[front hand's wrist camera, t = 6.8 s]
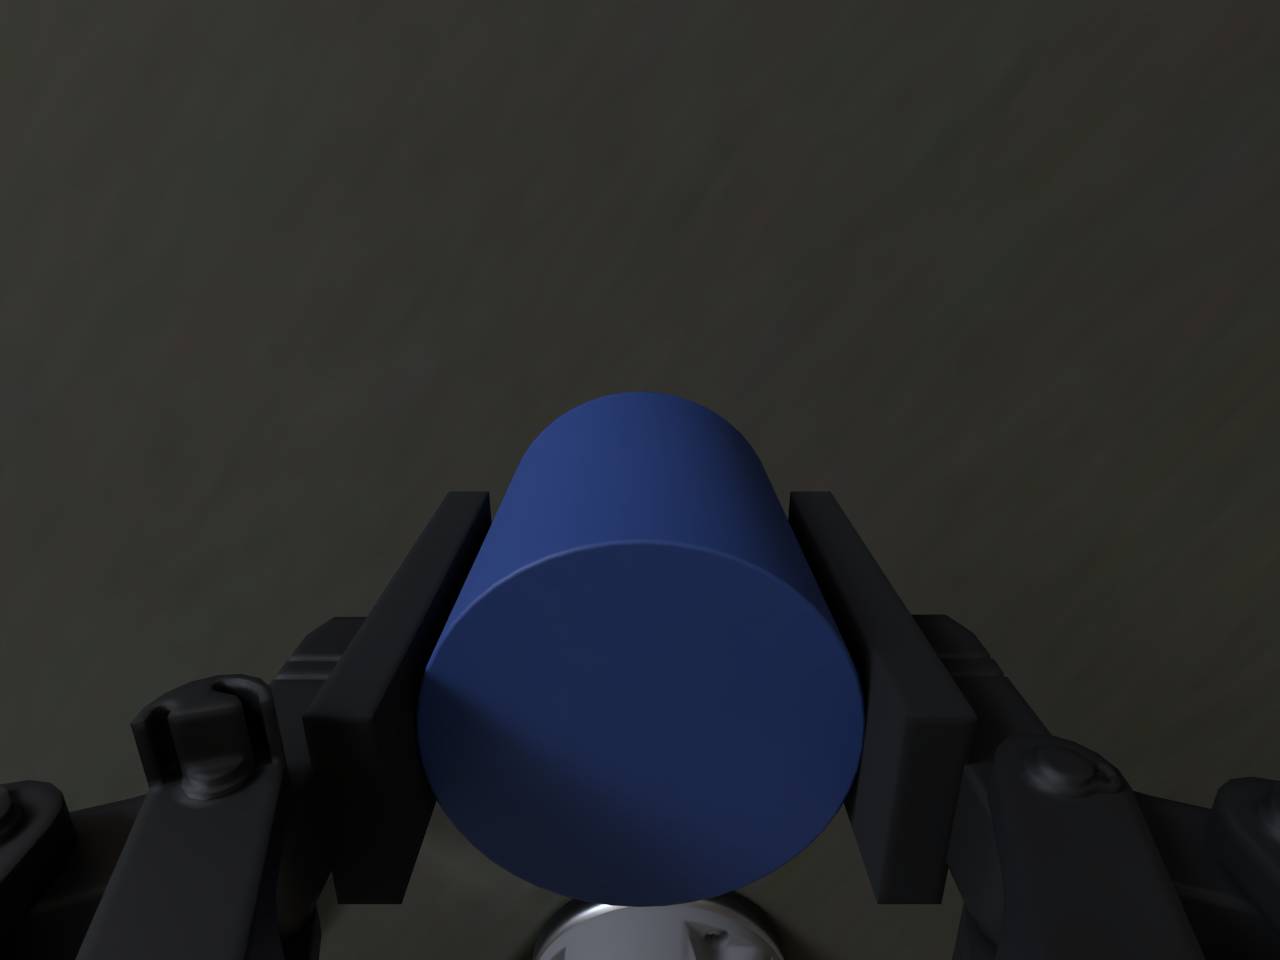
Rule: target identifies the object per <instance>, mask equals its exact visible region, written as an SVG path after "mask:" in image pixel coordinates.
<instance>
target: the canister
mask: <svg viewBox="0 0 1280 960" xmlns="http://www.w3.org/2000/svg"><path fill="white" fill-rule="evenodd" d="M865 726H866V714H865V703H864V694H863V691H862V687H861V683H860V679H859V675H858V672H857V669H856V667H855V665H854V662H853V660H852V658H851V656H850V653H849V651H848V649H847V647H846V644H845V642H844V640H843V638H842V636H841V634H840V632H839V629H838V627H837V625H836V623H835V621H834V619H833V616H832V614H831V612H830V610H829V608H828V606H827V603H826V601H825V599H824V597H823V595H822V593H821V591H820V588H819V586H818V584H817V582H816V580H815V578H814V575H813V573H812V571H811V569H810V567H809V565H808V562H807V560H806V558H805V556H804V554H803V552H802V550H801V547H800V545H799V543H798V541H797V539H796V537H795V534H794V532H793V530H792V528H791V526H790V524H789V521H788V519H787V517H786V515H785V513H784V511H783V508H782V506H781V504H780V502H779V500H778V498H777V496H776V493H775V491H774V489H773V487H772V485H771V483H770V480H769V478H768V476H767V474H766V472H765V470H764V467H763V465H762V463H761V461H760V459H759V458H758V456H757V454H756V453H755V451H754V450H753V448H752V446H751V445H750V444H749V443H748V442H747V440H746V439H745V438H744V437H743V436H742V434H741V433H740V432H739V431H738V430H737V429H735V428H734V427H733V426H732V425H731V424H730V423H729V422H728V421H726V420H725V419H723V418H722V417H720V416H719V415H718V414H716V413H715V412H713V411H711V410H709V409H707V408H705V407H703V406H701V405H699V404H697V403H695V402H692V401H689V400H686V399H684V398H681V397H677V396H672V395H667V394H663V393H653V392H627V393H619V394H614V395H608V396H604V397H601V398H598V399H595V400H592V401H588V402H586V403H584V404H582V405H580V406H578V407H576V408H574V409H571V410H570V411H568V412H567V413H565V414H564V415H562V416H561V417H559V418H558V419H556V420H555V421H554V422H553V423H551V424H550V425H549V426H548V427H547V428H546V429H544V430H543V431H542V433H541V434H540V435H539V436H538V437H537V438H536V439H535V440H534V442H533V443H532V444H531V445H530V447H529V448H528V450H527V452H526V453H525V455H524V456H523V458H522V460H521V462H520V464H519V466H518V468H517V470H516V472H515V474H514V477H513V479H512V481H511V483H510V485H509V487H508V490H507V492H506V494H505V496H504V498H503V501H502V503H501V505H500V507H499V509H498V511H497V514H496V516H495V518H494V520H493V522H492V525H491V527H490V529H489V531H488V533H487V535H486V538H485V540H484V542H483V544H482V546H481V549H480V551H479V553H478V555H477V557H476V559H475V562H474V564H473V566H472V568H471V570H470V573H469V575H468V577H467V579H466V581H465V583H464V586H463V588H462V590H461V592H460V594H459V596H458V599H457V601H456V603H455V605H454V607H453V610H452V612H451V614H450V616H449V618H448V620H447V623H446V625H445V627H444V629H443V631H442V634H441V636H440V638H439V640H438V642H437V644H436V647H435V649H434V651H433V653H432V655H431V658H430V660H429V662H428V664H427V666H426V669H425V673H424V676H423V679H422V683H421V686H420V690H419V696H418V704H417V712H416V727H417V742H418V747H419V752H420V757H421V762H422V766H423V769H424V772H425V774H426V777H427V780H428V783H429V785H430V788H431V790H432V792H433V793H434V795H435V797H436V799H437V801H438V803H439V805H440V806H441V808H442V810H443V811H444V812H445V814H446V815H447V816H448V818H449V819H450V820H451V822H452V823H453V825H454V826H455V827H456V828H457V830H458V831H459V832H460V833H461V834H462V835H463V836H464V837H465V838H466V839H467V840H468V841H469V842H470V843H471V844H472V845H473V846H474V847H475V848H477V849H478V850H479V851H480V852H481V853H483V854H484V855H485V856H486V857H488V858H489V859H490V860H491V861H493V862H494V863H496V864H497V865H499V866H500V867H502V868H504V869H505V870H507V871H508V872H510V873H511V874H513V875H515V876H517V877H519V878H521V879H523V880H525V881H527V882H529V883H531V884H533V885H535V886H537V887H540V888H543V889H546V890H548V891H551V892H554V893H557V894H559V895H562V896H566V897H570V898H574V899H578V900H582V901H586V902H592V903H599V904H605V905H612V906H628V907H653V906H669V905H676V904H684V903H691V902H695V901H699V900H704V899H708V898H712V897H716V896H719V895H722V894H725V893H728V892H731V891H734V890H736V889H739V888H742V887H744V886H746V885H748V884H750V883H753V882H755V881H757V880H759V879H761V878H763V877H765V876H767V875H768V874H770V873H772V872H773V871H775V870H777V869H778V868H780V867H782V866H783V865H785V864H786V863H788V862H789V861H790V860H792V859H793V858H794V857H795V856H797V855H798V854H799V853H800V852H802V851H803V850H804V849H806V848H807V847H808V846H809V845H810V844H811V843H812V842H813V841H814V840H815V839H816V838H817V837H818V836H819V835H820V834H821V833H822V832H823V831H824V829H825V828H826V827H827V825H828V824H829V823H830V822H831V820H832V819H833V818H834V816H835V815H836V814H837V813H838V811H839V809H840V808H841V806H842V804H843V802H844V801H845V799H846V797H847V795H848V794H849V792H850V790H851V787H852V785H853V782H854V780H855V777H856V775H857V772H858V769H859V766H860V761H861V757H862V752H863V747H864V739H865Z"/></svg>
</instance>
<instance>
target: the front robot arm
mask: <svg viewBox="0 0 1280 960" xmlns="http://www.w3.org/2000/svg"><path fill="white" fill-rule="evenodd" d="M788 521H789V524H790V526H791V528H792V530H793V532H794V534H795V537H796V539H797V541H798V543H799V545H800V547H801V550H802V552H803V554H804V556H805V558H806V560H807V562H808V565H809V567H810V569H811V571H812V573H813V575H814V578H815V580H816V582H817V584H818V586H819V588H820V591H821V593H822V595H823V597H824V599H825V601H826V603H827V606H828V608H829V610H830V612H831V614H832V616H833V619H834V621H835V623H836V625H837V627H838V629H839V632H840V634H841V636H842V638H843V640H844V642H845V644H846V647H847V649H848V651H849V653H850V656H851V658H852V660H853V662H854V665H855V667H856V669H857V672H858V675H859V679H860V683H861V687H862V691H863V694H864V703H865V714H866V726H865V739H864V747H863V752H862V757H861V761H860V766H859V769H858V772H857V775H856V777H855V780H854V782H853V785H852V787H851V790H850V792H849V794H848V795H847V797H846V799H845V801H844V805H845V808H846V811H847V814H848V817H849V820H850V823H851V826H852V828H853V831H854V834H855V837H856V840H857V843H858V846H859V849H860V852H861V855H862V858H863V861H864V864H865V867H866V870H867V873H868V876H869V879H870V882H871V885H872V888H873V891H874V894H875V897H876V899H877V902H878V904H941V902H942V897H943V892H944V887H945V882H946V877H947V872H948V867H949V870H950V872H951V874H952V876H953V878H954V880H955V883H956V885H957V887H958V889H959V891H960V893H961V896H962V898H963V900H964V905H963V910H962V914H961V919H960V924H959V929H958V933H957V938H956V943H955V948H954V953H953V957H952V960H1280V781H1276V780H1269V779H1263V778H1256V777H1246V778H1237V779H1230V780H1229V781H1228V782H1226V783H1225V784H1224V785H1222V786H1221V787H1220V788H1219V789H1218V792H1217V795H1216V797H1215V800H1214V803H1213V806H1212V809H1208V808H1204V807H1199V806H1195V805H1190V804H1186V803H1181V802H1177V801H1172V800H1168V799H1163V798H1159V797H1154V796H1150V795H1146V794H1143V793H1139V792H1136V791H1132V789H1131V787H1130V785H1129V784H1128V782H1127V781H1126V780H1125V778H1124V777H1123V775H1122V774H1121V773H1120V771H1119V770H1118V769H1117V768H1116V767H1114V766H1113V765H1112V764H1111V763H1109V762H1108V761H1107V760H1106V759H1104V758H1103V757H1102V756H1100V755H1099V754H1098V753H1096V752H1094V751H1092V750H1090V749H1088V748H1086V747H1084V746H1082V745H1080V744H1078V743H1076V742H1073V741H1070V740H1066V739H1063V738H1059V737H1055V736H1052V735H1051V733H1050V732H1049V731H1048V730H1047V728H1046V727H1045V726H1044V724H1043V723H1042V722H1041V720H1040V719H1039V718H1038V717H1037V715H1036V714H1035V713H1034V711H1033V710H1032V709H1031V707H1030V706H1029V705H1028V704H1027V702H1026V701H1025V700H1024V698H1023V697H1022V696H1021V694H1020V693H1019V692H1018V691H1017V689H1016V688H1015V687H1014V685H1013V684H1012V683H1011V681H1010V680H1009V679H1008V678H1007V677H1004V675H1003V673H1004V672H1003V671H1002V670H1001V668H1000V667H999V666H998V665H997V663H996V662H995V661H994V659H990V654H989V653H988V652H987V650H986V649H985V648H984V646H983V645H982V644H981V643H980V641H979V640H978V639H977V637H976V636H975V635H974V633H972V632H971V631H969V630H968V629H966V628H965V627H963V626H962V625H960V624H959V623H957V622H956V621H954V620H953V619H951V618H950V617H948V616H947V615H911V614H910V613H909V611H908V610H907V608H906V607H905V605H904V604H903V602H902V600H901V599H900V597H899V596H898V594H897V593H896V591H895V590H894V588H893V587H892V585H891V584H890V582H889V581H888V579H887V578H886V576H885V574H884V573H883V571H882V570H881V568H880V567H879V565H878V564H877V562H876V561H875V559H874V558H873V556H872V555H871V553H870V552H869V550H868V548H867V547H866V545H865V544H864V542H863V541H862V539H861V538H860V536H859V535H858V533H857V532H856V530H855V529H854V527H853V526H852V524H851V522H850V521H849V519H848V518H847V516H846V515H845V513H844V512H843V510H842V509H841V507H840V506H839V504H838V503H837V501H836V500H835V498H834V496H833V495H832V493H831V492H790V505H789V518H788ZM491 525H492V524H491V511H490V498H489V492H449V493H448V494H447V496H446V497H445V499H444V500H443V502H442V503H441V505H440V506H439V508H438V509H437V511H436V512H435V514H434V516H433V517H432V519H431V520H430V522H429V523H428V525H427V526H426V528H425V529H424V531H423V532H422V534H421V535H420V537H419V538H418V540H417V542H416V543H415V545H414V546H413V548H412V549H411V551H410V552H409V554H408V555H407V557H406V558H405V560H404V561H403V563H402V564H401V566H400V568H399V569H398V571H397V572H396V574H395V575H394V577H393V578H392V580H391V581H390V583H389V584H388V586H387V587H386V589H385V590H384V592H383V594H382V595H381V597H380V598H379V600H378V601H377V603H376V604H375V606H374V607H373V609H372V610H371V612H370V613H369V615H368V616H367V617H334V618H332V619H331V620H329V621H328V622H326V623H325V624H323V625H322V626H320V627H319V628H317V629H316V630H314V631H313V632H311V633H310V634H308V635H307V636H306V637H305V638H304V640H303V641H302V642H301V644H300V645H299V646H298V647H297V649H296V650H295V651H294V653H293V654H292V655H291V657H290V661H287V662H286V663H285V664H284V666H283V667H282V668H281V670H280V671H279V672H278V674H277V675H276V680H272V681H271V683H270V684H269V685H267V684H266V683H265V682H264V681H263V680H261V679H260V678H256V677H252V676H247V675H243V674H235V675H217V676H213V677H209V678H205V679H201V680H197V681H193V682H190V683H187V684H185V685H183V686H180V687H178V688H176V689H174V690H171V691H169V692H167V693H165V694H163V695H162V696H160V697H159V698H157V699H156V700H154V701H153V702H152V703H150V704H149V705H147V706H146V707H144V708H143V709H142V711H141V712H140V713H139V714H138V715H137V717H136V718H135V719H134V720H133V721H132V723H131V727H132V731H133V734H134V738H135V741H136V744H137V748H138V751H139V754H140V758H141V761H142V765H143V768H144V771H145V775H146V778H147V781H148V785H149V790H148V792H147V794H145V795H142V796H138V797H135V798H131V799H127V800H122V801H118V802H113V803H109V804H104V805H100V806H95V807H91V808H87V809H82V810H78V811H73V812H69V811H68V808H67V805H66V802H65V800H64V797H63V794H62V792H61V791H60V790H59V789H57V788H56V787H55V786H54V785H52V784H51V783H48V782H40V781H32V780H27V781H20V782H14V783H7V784H1V785H0V960H319V952H320V943H321V927H320V920H319V914H318V910H317V905H316V903H317V900H318V898H319V896H320V894H321V892H322V890H323V887H324V885H325V883H326V881H327V879H328V877H329V874H330V872H331V870H332V874H333V880H334V885H335V890H336V895H337V900H338V904H402V901H403V898H404V895H405V892H406V889H407V886H408V883H409V880H410V877H411V874H412V871H413V868H414V865H415V862H416V859H417V857H418V854H419V851H420V848H421V845H422V842H423V839H424V836H425V833H426V830H427V827H428V824H429V821H430V818H431V815H432V812H433V809H434V806H435V803H436V800H437V799H436V797H435V795H434V793H433V792H432V790H431V788H430V785H429V783H428V780H427V777H426V774H425V772H424V769H423V766H422V762H421V757H420V752H419V747H418V742H417V727H416V712H417V704H418V696H419V690H420V686H421V683H422V679H423V676H424V673H425V669H426V666H427V664H428V662H429V660H430V658H431V655H432V653H433V651H434V649H435V647H436V644H437V642H438V640H439V638H440V636H441V634H442V631H443V629H444V627H445V625H446V623H447V620H448V618H449V616H450V614H451V612H452V610H453V607H454V605H455V603H456V601H457V599H458V596H459V594H460V592H461V590H462V588H463V586H464V583H465V581H466V579H467V577H468V575H469V573H470V570H471V568H472V566H473V564H474V562H475V559H476V557H477V555H478V553H479V551H480V549H481V546H482V544H483V542H484V540H485V538H486V535H487V533H488V531H489V529H490V527H491ZM532 960H786V955H785V950H784V947H783V943H782V940H781V938H780V936H779V933H778V932H777V930H776V928H775V927H774V925H773V924H772V923H771V921H770V920H769V919H768V918H767V916H766V915H765V914H764V913H763V912H762V911H761V910H759V909H758V908H757V907H756V906H755V905H753V904H752V903H751V902H749V901H748V900H746V899H745V898H743V897H742V896H740V895H738V894H736V893H734V892H732V891H731V892H728V893H725V894H722V895H719V896H716V897H712V898H708V899H704V900H699V901H695V902H691V903H684V904H676V905H669V906H653V907H628V906H612V905H605V904H599V903H592V902H586V901H582V900H578V899H573V900H571V901H570V902H568V903H567V904H565V905H564V906H563V907H562V908H561V909H559V910H558V911H557V912H556V913H555V914H554V915H553V916H552V917H551V918H550V920H549V921H548V922H547V924H546V925H545V926H544V928H543V929H542V931H541V933H540V935H539V937H538V939H537V942H536V945H535V948H534V952H533V959H532Z"/></svg>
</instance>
